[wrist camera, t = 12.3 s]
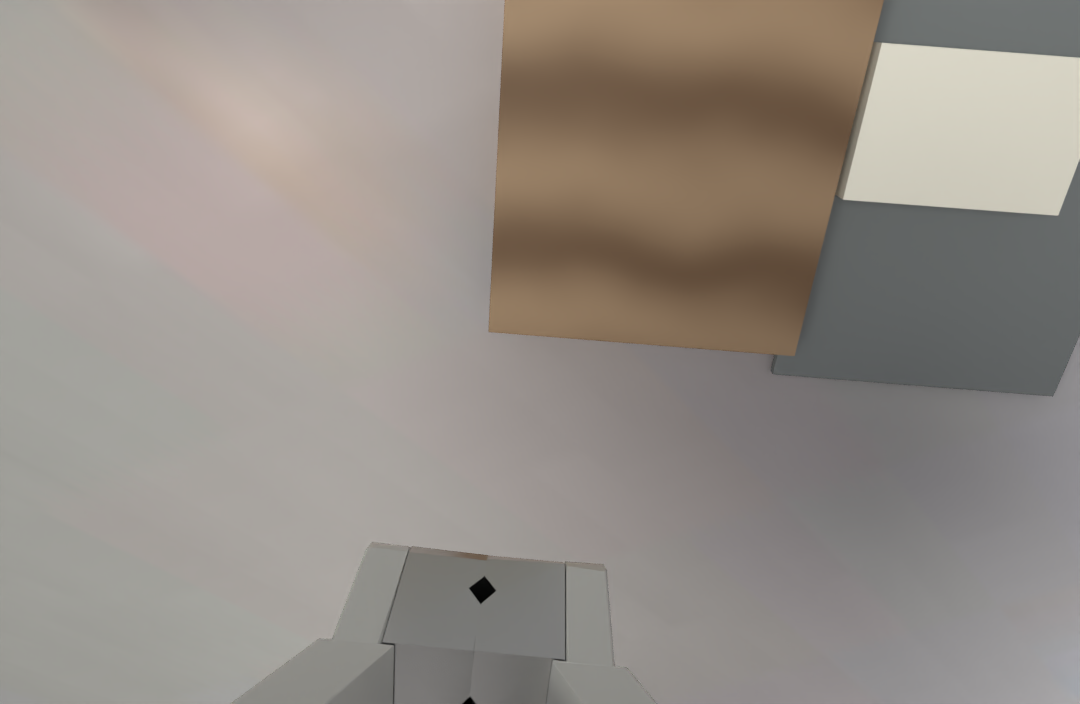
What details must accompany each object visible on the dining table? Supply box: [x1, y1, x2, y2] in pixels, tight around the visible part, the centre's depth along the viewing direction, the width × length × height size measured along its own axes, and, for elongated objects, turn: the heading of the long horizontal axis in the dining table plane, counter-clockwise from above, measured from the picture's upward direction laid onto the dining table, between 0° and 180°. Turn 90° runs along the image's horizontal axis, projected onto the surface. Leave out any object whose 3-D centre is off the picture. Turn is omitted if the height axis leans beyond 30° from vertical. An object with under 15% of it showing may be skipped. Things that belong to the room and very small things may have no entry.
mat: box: [771, 0, 1080, 396], centre depth 31 cm, size 24×14×1 cm, turn 176°
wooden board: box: [489, 0, 884, 356], centre depth 30 cm, size 20×14×2 cm
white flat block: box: [835, 42, 1080, 216], centre depth 30 cm, size 6×9×2 cm, turn 86°
